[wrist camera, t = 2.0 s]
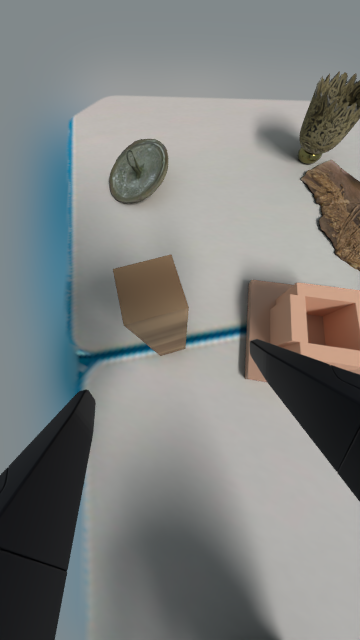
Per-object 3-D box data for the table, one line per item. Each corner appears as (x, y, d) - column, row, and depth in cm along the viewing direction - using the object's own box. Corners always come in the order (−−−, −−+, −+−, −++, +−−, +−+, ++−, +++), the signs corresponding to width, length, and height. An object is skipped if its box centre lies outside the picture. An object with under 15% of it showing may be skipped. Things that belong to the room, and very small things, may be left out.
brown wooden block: (185, 348, 20) (188, 307, 8) (160, 355, 20) (123, 325, 8) (178, 325, 21) (171, 254, 9) (154, 331, 21) (112, 269, 8)
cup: (284, 143, 31) (316, 69, 24) (326, 146, 31) (373, 71, 23) (285, 171, 29) (322, 99, 21) (331, 175, 28) (385, 102, 21)
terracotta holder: (358, 397, 18) (420, 405, 14) (244, 378, 19) (265, 379, 14) (344, 295, 22) (389, 274, 17) (248, 283, 23) (266, 259, 18)
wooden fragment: (293, 165, 30) (297, 158, 29) (356, 162, 30) (362, 155, 29) (343, 301, 22) (351, 298, 21) (428, 297, 22) (440, 294, 21)
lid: (182, 192, 28) (182, 155, 23) (128, 218, 26) (116, 184, 22) (151, 157, 31) (145, 117, 26) (100, 178, 29) (84, 140, 25)
